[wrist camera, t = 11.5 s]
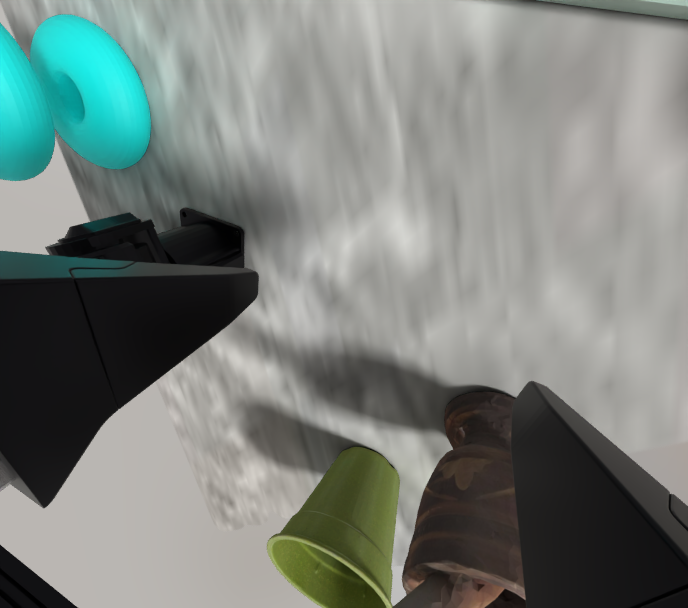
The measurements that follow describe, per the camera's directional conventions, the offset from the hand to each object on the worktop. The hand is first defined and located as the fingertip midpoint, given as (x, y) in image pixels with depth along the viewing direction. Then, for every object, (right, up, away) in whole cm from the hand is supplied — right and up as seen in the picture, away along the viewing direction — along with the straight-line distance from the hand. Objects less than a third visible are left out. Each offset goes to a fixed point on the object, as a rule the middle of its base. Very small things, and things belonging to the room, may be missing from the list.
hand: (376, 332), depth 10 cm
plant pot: (+2, -18, +26) cm, 31 cm away
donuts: (-20, +18, +16) cm, 31 cm away
